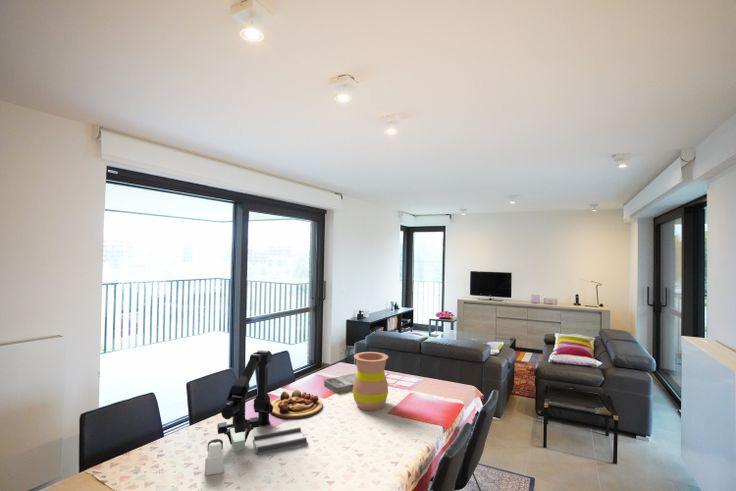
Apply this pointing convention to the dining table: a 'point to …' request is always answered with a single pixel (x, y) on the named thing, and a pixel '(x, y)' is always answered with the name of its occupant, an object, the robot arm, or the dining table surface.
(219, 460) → the white handled block
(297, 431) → the rail board
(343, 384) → the hard drive
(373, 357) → the vase
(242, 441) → the block
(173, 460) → the dining table surface
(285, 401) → the wooden plate with food
